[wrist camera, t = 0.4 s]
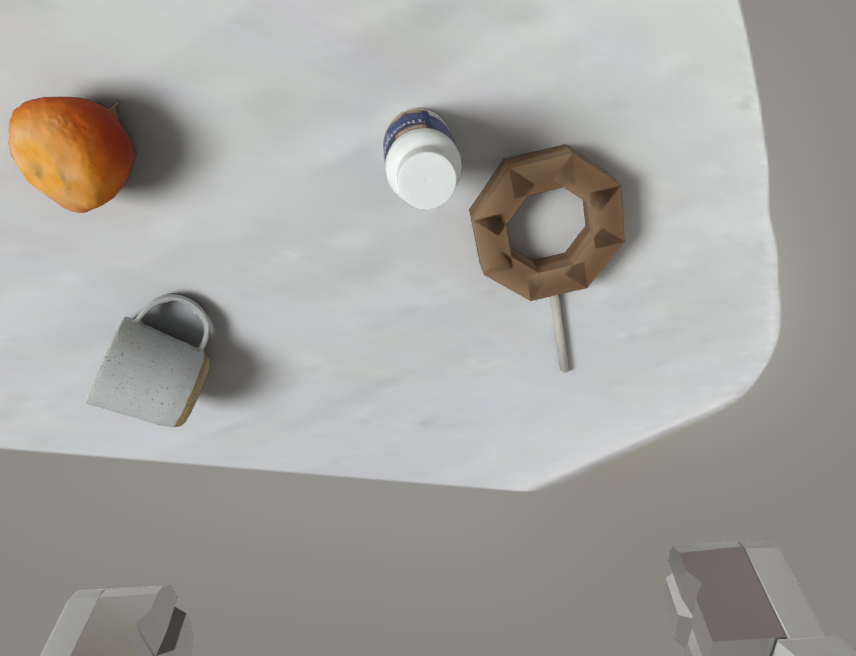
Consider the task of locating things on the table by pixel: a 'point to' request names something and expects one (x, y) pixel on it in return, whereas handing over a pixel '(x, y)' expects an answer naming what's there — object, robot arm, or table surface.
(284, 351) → the table surface
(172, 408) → the ceramic mug
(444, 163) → the pill bottle
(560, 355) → the grey rod
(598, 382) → the table surface
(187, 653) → the robot arm
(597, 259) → the walnut ring
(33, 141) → the fruit
